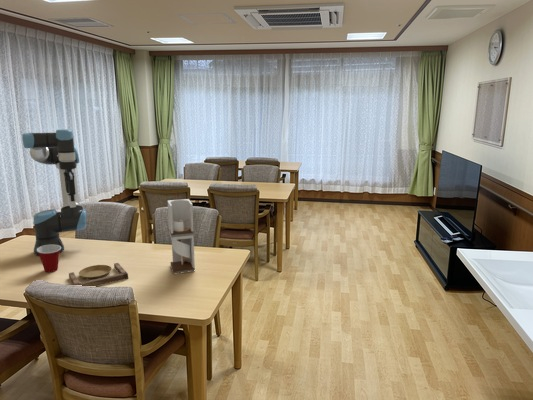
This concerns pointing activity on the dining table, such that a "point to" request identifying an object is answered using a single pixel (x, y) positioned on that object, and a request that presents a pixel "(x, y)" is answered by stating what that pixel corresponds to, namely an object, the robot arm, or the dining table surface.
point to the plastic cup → (49, 257)
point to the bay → (101, 281)
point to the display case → (181, 235)
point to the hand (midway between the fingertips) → (72, 206)
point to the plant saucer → (95, 272)
